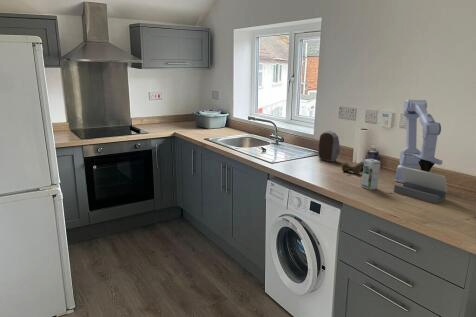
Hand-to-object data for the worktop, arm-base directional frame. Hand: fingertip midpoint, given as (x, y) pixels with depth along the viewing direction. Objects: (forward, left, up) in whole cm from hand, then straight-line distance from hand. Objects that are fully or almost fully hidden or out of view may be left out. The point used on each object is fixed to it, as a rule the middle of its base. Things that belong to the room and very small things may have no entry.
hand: (424, 175), depth 174 cm
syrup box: (-21, -12, -10) cm, 26 cm away
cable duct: (0, -3, -9) cm, 10 cm away
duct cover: (0, -1, -2) cm, 2 cm away
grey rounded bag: (-70, +19, -10) cm, 73 cm away
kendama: (-43, +9, -10) cm, 45 cm away
